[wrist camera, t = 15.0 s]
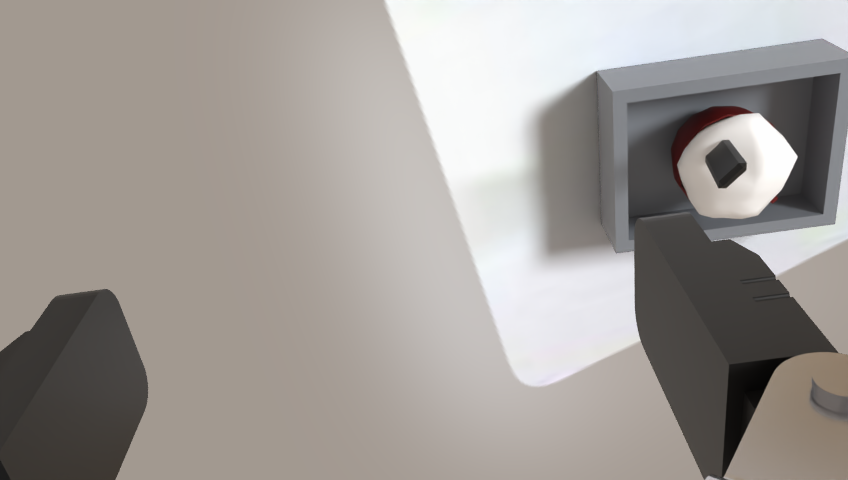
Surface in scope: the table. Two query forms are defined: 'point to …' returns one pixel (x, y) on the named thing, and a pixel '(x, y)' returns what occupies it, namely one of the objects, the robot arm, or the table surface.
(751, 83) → the dock tray
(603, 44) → the table surface
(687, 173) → the cocoa
